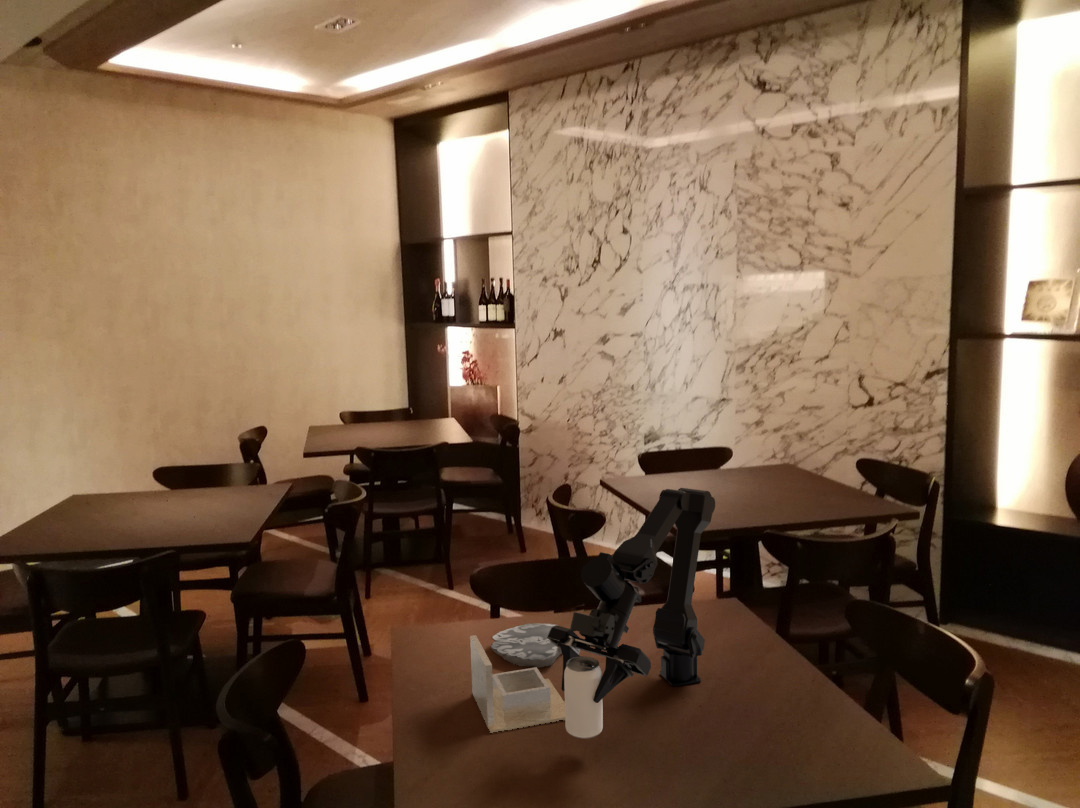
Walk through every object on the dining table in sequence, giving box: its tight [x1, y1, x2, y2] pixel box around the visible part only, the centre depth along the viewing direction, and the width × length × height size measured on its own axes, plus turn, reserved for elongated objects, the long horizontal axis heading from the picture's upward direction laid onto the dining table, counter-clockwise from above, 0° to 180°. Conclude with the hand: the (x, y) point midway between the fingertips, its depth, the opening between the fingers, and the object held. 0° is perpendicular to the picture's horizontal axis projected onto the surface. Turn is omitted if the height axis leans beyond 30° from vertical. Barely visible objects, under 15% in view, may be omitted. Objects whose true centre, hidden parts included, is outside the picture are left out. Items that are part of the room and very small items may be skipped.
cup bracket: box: [469, 634, 565, 734], centre depth 155 cm, size 16×16×13 cm
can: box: [564, 655, 604, 740], centre depth 137 cm, size 6×6×12 cm
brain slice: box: [490, 623, 562, 669], centre depth 179 cm, size 20×17×3 cm
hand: (579, 696), depth 136 cm, fingers closed on can, 6 cm apart
